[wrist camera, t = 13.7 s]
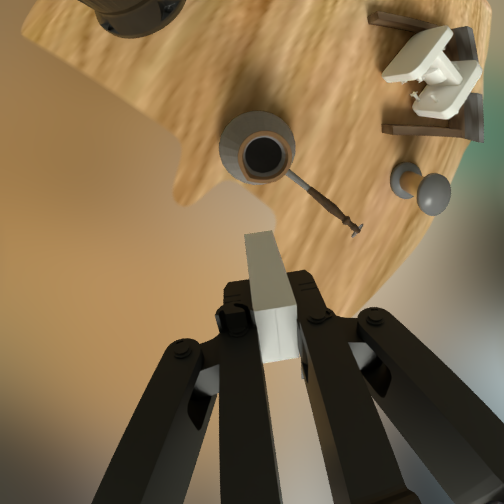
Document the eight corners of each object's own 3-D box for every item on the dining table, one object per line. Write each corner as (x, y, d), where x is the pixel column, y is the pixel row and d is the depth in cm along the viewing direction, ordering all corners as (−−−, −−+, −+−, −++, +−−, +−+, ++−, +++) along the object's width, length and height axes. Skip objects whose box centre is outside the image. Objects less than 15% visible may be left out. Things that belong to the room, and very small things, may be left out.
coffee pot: (205, 154, 44) (194, 172, 31) (248, 97, 40) (256, 88, 27) (307, 225, 51) (334, 268, 37) (348, 176, 47) (390, 202, 34)
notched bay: (367, 16, 34) (391, 3, 26) (443, 33, 34) (472, 28, 26) (382, 132, 44) (409, 138, 36) (453, 135, 44) (483, 142, 36)
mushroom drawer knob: (390, 162, 46) (420, 175, 37) (419, 161, 46) (452, 173, 37) (389, 198, 49) (418, 217, 40) (418, 196, 49) (448, 213, 40)
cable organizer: (414, 30, 34) (452, 20, 24) (448, 70, 38) (488, 69, 27) (375, 77, 39) (412, 71, 29) (413, 118, 42) (453, 124, 32)
